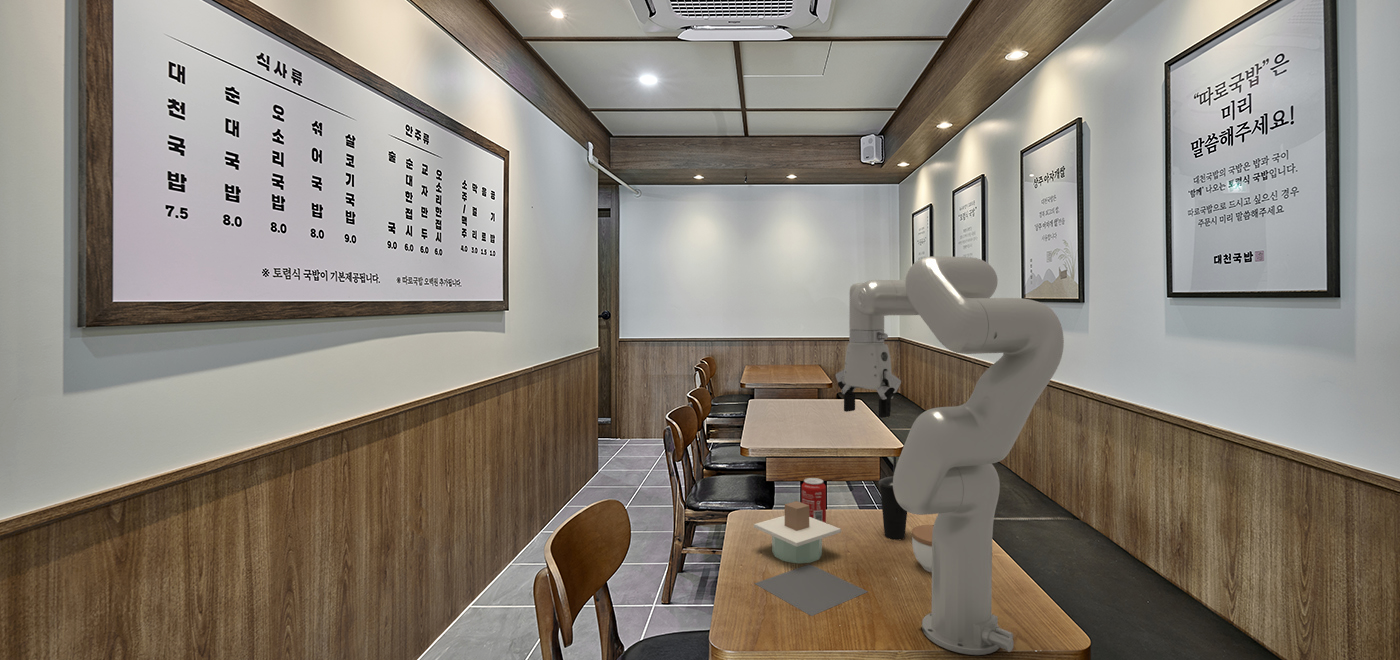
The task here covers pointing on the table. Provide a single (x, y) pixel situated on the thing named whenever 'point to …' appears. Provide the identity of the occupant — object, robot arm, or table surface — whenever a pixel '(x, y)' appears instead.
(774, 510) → the table surface
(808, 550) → the bowl
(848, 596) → the mat
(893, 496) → the drinking cup
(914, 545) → the lidded jar
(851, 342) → the robot arm
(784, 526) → the lid
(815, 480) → the beverage can
